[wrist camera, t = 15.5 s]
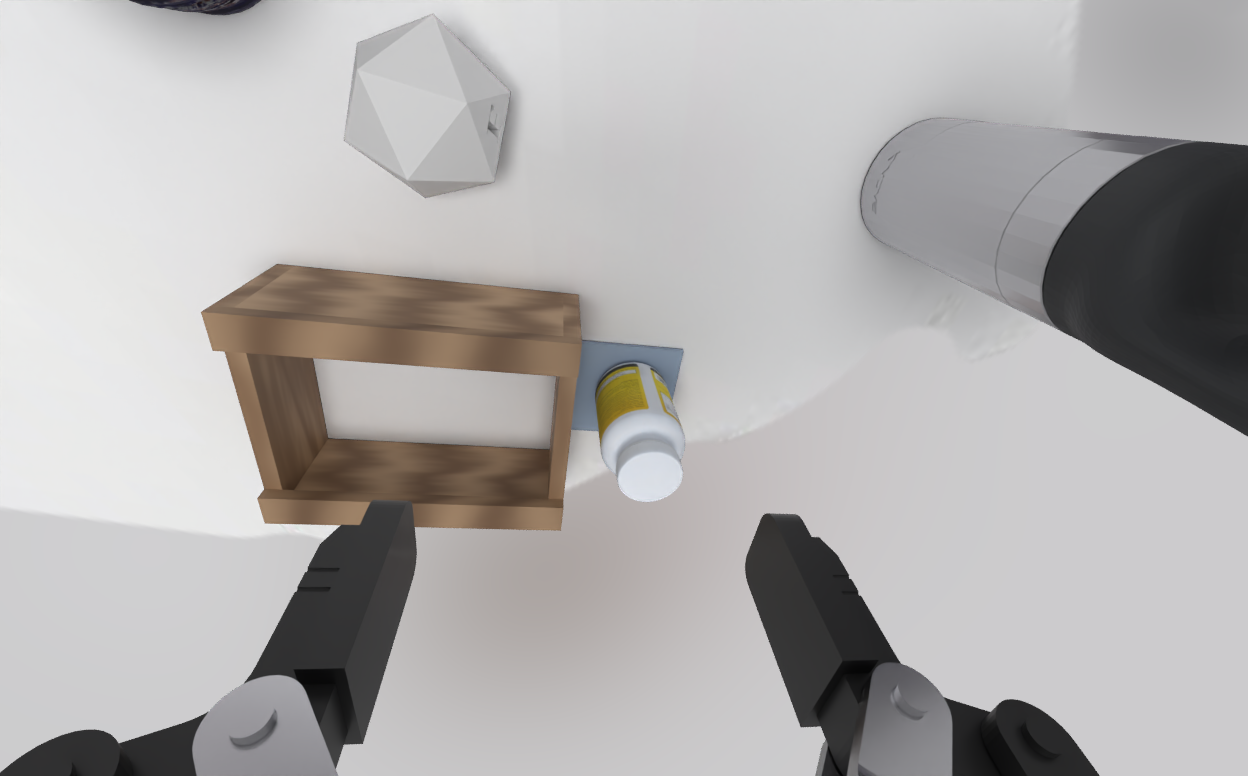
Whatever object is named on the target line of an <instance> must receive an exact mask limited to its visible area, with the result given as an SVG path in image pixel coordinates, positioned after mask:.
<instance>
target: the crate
mask: <svg viewBox="0 0 1248 776" xmlns="http://www.w3.org/2000/svg"><path fill="white" fill-rule="evenodd" d="M201 314H202V317H203V320H204V323H205V327H206V330H207V333H208V337H209V340H210V343H211V347H212V350H213V351H224V352H225V354H226V358H227V361H228V365H229V368H230V372H231V375H232V378H233V382H234V385H235V389H236V392H237V396H238V399H239V403H240V406H241V410H242V413H243V416H244V420H245V423H246V427H247V430H248V434H249V437H250V441H251V444H252V448H253V451H254V455H255V458H256V461H257V465H258V468H259V472H260V475H261V479H262V482H263V486H264V490H263V492H262V493H261V494H260V496H259V497H258V498H257V499H258V502H259V505H260V509H261V512H262V515H263V519H264V522H265V523H270V524H311V525H360V523H361V521H362V519H363V517H364V515H365V512H366V510H367V508H368V506H369V504H370V503H371V501H372V500H399V501H411V503H412V506H413V516H414V527H439V528H477V529H518V530H561V523H562V514H563V497H564V488H565V480H566V471H567V462H568V453H569V444H570V435H571V426H572V418H573V409H574V400H575V391H576V382H577V378H578V375H579V366H580V357H581V349H582V338H581V324H580V310H579V296H578V295H577V294H567V293H557V292H547V291H537V290H528V289H518V288H508V287H498V286H488V285H478V284H468V283H459V282H449V281H439V280H429V279H419V278H409V277H399V276H390V275H380V274H370V273H360V272H350V271H340V270H330V269H321V268H311V267H301V266H291V265H281V264H276V265H275V266H273V267H272V268H270V269H268V270H267V271H265V272H264V273H262V274H261V275H259V276H257V277H256V278H254V279H253V280H251V281H249V282H248V283H246V284H245V285H243V286H242V287H240V288H238V289H237V290H235V291H234V292H232V293H230V294H229V295H227V296H226V297H224V298H222V299H221V300H219V301H218V302H216V303H215V304H213V305H211V306H210V307H208V308H207V309H205V310H203V311H202V312H201ZM313 358H318V359H332V360H345V361H359V362H372V363H386V364H399V365H413V366H426V367H440V368H453V369H467V370H480V371H494V372H507V373H520V374H534V375H547V376H556V382H555V393H554V405H553V416H552V427H551V439H550V450H544V449H524V448H504V447H484V446H465V445H445V444H425V443H405V442H385V441H365V440H345V439H328V436H327V431H326V426H325V420H324V415H323V410H322V405H321V399H320V394H319V389H318V384H317V378H316V373H315V368H314V363H313Z"/></svg>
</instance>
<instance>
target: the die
mask: <svg viewBox="0 0 1248 776" xmlns="http://www.w3.org/2000/svg"><path fill="white" fill-rule="evenodd" d="M510 93H511V92H510V91H509V90H508V89H507V88H506V87H505V86H504V85H503V84H502V83H501V82H500V81H499V79H498V78H497V77H496V76H495V75H494V74H493V73H492V72H491V71H490V70H489V69H488V68H487V67H486V66H485V65H484V64H483V63H482V62H481V61H480V60H479V59H478V58H477V57H476V56H475V55H474V54H473V53H472V52H471V51H470V50H469V49H468V48H467V47H466V46H465V45H464V44H463V43H462V42H461V41H460V40H459V39H458V38H457V37H456V36H455V35H454V34H453V33H452V32H451V31H450V30H449V29H448V28H447V27H446V26H445V25H444V24H443V23H442V22H441V21H440V20H439V19H438V18H437V17H436V16H435V15H434V14H431V15H428V16H426V17H423V18H421V19H418V20H415V21H413V22H410V23H408V24H405V25H402V26H400V27H397V28H395V29H392V30H389V31H387V32H384V33H382V34H379V35H376V36H374V37H371V38H369V39H366V40H363V41H361V42H358V43H357V47H356V54H355V62H354V69H353V76H352V84H351V91H350V98H349V106H348V113H347V120H346V127H345V135H344V141H345V142H347V143H348V144H349V145H351V146H352V147H354V148H355V149H357V150H358V151H359V152H361V153H362V154H364V155H365V156H367V157H368V158H369V159H371V160H372V161H374V162H375V163H376V164H378V165H379V166H381V167H382V168H384V169H385V170H386V171H388V172H389V173H391V174H392V175H394V176H395V177H396V178H398V179H399V180H401V181H402V182H403V183H405V184H406V185H408V186H409V187H411V188H412V189H413V190H415V191H416V192H418V193H419V194H421V195H422V196H423V197H425V198H427V197H432V196H436V195H440V194H445V193H449V192H453V191H458V190H462V189H466V188H471V187H475V186H479V185H484V184H488V183H492V182H495V176H496V171H497V165H498V160H499V154H500V149H501V143H502V138H503V132H504V126H505V121H506V115H507V110H508V104H509V99H510Z"/></svg>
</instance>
